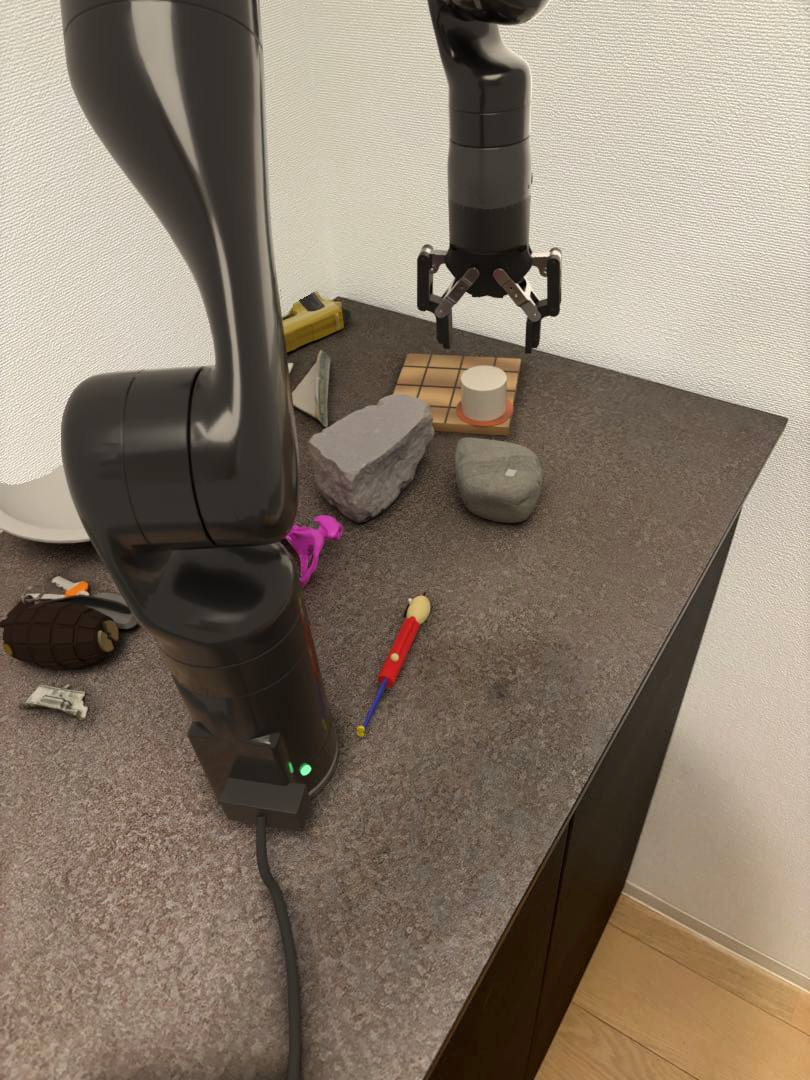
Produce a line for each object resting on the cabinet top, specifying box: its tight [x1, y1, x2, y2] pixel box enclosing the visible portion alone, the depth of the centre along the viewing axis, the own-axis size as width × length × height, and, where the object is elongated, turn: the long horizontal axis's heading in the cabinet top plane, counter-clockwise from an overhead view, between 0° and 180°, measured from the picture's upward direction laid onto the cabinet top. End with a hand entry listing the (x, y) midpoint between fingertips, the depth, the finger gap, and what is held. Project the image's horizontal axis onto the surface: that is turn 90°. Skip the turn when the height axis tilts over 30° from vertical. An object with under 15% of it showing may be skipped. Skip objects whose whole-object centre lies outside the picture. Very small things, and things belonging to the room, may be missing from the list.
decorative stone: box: [307, 393, 436, 524], centre depth 81 cm, size 15×7×10 cm
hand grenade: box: [0, 583, 131, 670], centre depth 67 cm, size 5×7×11 cm
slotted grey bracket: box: [16, 683, 88, 721], centre depth 64 cm, size 6×2×3 cm
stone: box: [454, 436, 544, 524], centre depth 78 cm, size 9×9×10 cm
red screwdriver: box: [356, 591, 431, 738], centre depth 65 cm, size 3×2×15 cm
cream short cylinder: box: [461, 366, 507, 421], centre depth 87 cm, size 5×5×4 cm
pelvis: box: [284, 514, 344, 590], centre depth 71 cm, size 12×10×7 cm
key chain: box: [21, 575, 139, 630], centre depth 72 cm, size 13×4×2 cm, turn 65°
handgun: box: [282, 290, 352, 353], centre depth 105 cm, size 2×19×12 cm
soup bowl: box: [0, 465, 91, 544], centre depth 82 cm, size 24×24×7 cm
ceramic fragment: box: [292, 349, 331, 428], centre depth 94 cm, size 14×5×4 cm, turn 1°
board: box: [392, 352, 522, 437], centre depth 93 cm, size 14×14×1 cm
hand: (488, 347), depth 83 cm, fingers open, 8 cm apart
